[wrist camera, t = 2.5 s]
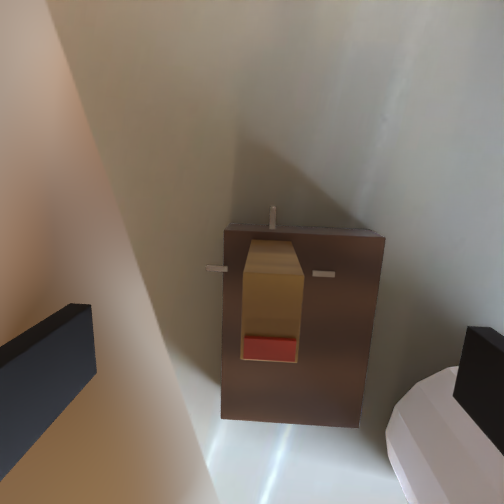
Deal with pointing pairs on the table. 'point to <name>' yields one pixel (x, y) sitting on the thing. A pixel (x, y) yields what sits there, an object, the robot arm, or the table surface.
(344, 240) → the plate
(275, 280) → the tan wooden block
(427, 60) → the table surface
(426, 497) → the container
